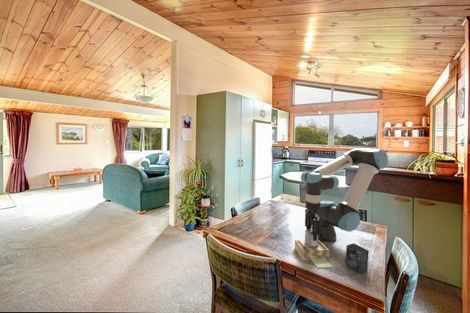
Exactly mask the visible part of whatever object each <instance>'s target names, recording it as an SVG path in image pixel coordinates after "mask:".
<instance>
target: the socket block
mask: <svg viewBox="0 0 470 313" xmlns="http://www.w3.org/2000/svg"><path fill="white" fill-rule="evenodd" d="M294 250H295V252H297V254H298V255H299V256H300V257H301V259H302V261H311V259H326V260H329V259H330V249H329V248H328V247H327V246H326V245H325V244H323V242H322V241H320V240H318V247H316V248H308V247H307V245H306V244H305V239H297V240H295V239H294Z"/></svg>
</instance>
